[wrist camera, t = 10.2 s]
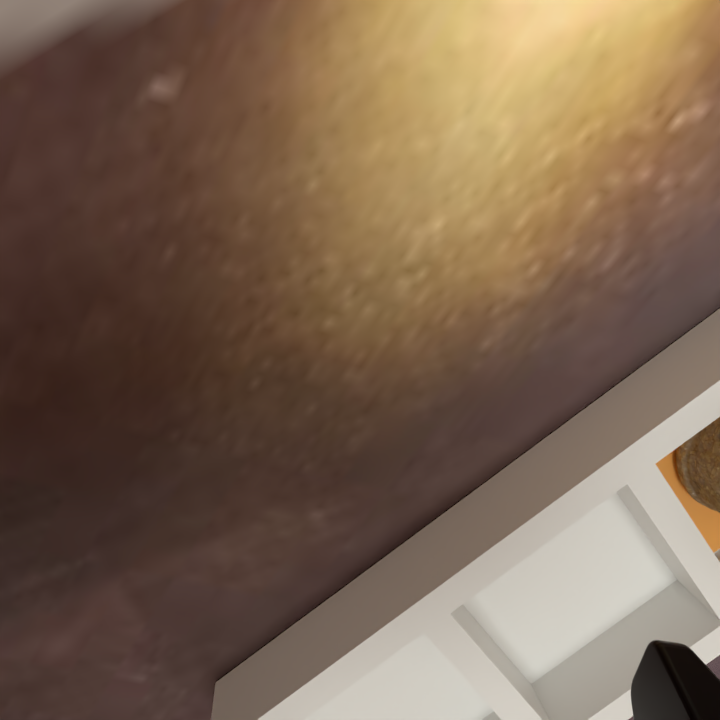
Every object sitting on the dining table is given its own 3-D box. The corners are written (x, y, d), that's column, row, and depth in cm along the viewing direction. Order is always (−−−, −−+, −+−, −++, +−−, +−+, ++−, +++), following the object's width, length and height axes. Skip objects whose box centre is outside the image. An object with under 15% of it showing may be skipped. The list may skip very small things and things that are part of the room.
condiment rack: (360, 815, 24) (372, 899, 22) (215, 682, 22) (206, 756, 19) (880, 444, 23) (966, 481, 20) (786, 259, 21) (869, 270, 18)
